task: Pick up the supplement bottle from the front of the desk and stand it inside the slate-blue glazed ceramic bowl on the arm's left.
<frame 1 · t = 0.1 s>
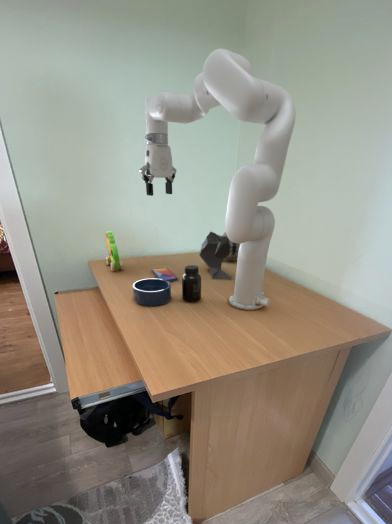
hand: (159, 194, 114), 31 cm above the table, tool pointing down, fingers open, 9 cm apart
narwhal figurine: (214, 273, 133), on the table
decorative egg: (229, 261, 150), on the table
bowl: (152, 299, 107), on the table
supplement bottle: (191, 299, 108), on the table
green toy figure: (114, 267, 138), on the table
smartphone: (164, 275, 129), on the table
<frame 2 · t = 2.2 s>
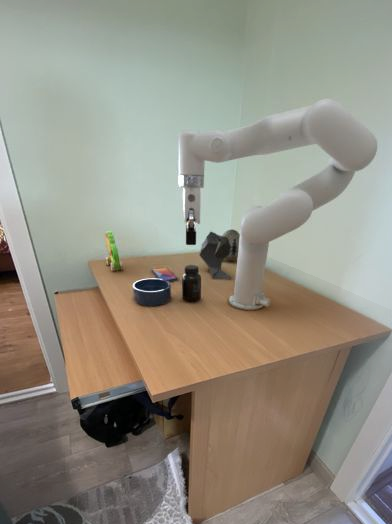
hand: (190, 241, 97), 20 cm above the table, tool pointing down, fingers open, 9 cm apart
nothing on the table moved.
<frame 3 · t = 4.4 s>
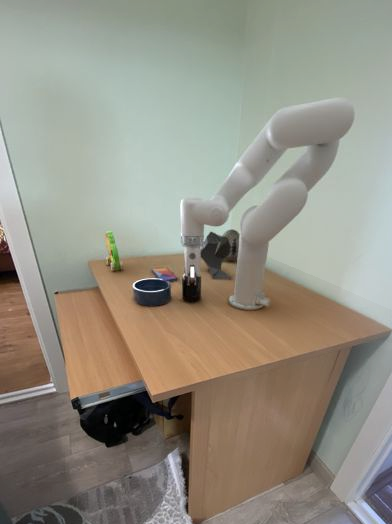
hand: (191, 291, 106), 3 cm above the table, tool pointing down, fingers closed on supplement bottle, 6 cm apart
supplement bottle: (191, 299, 108), on the table, touching gripper
everything else where it was.
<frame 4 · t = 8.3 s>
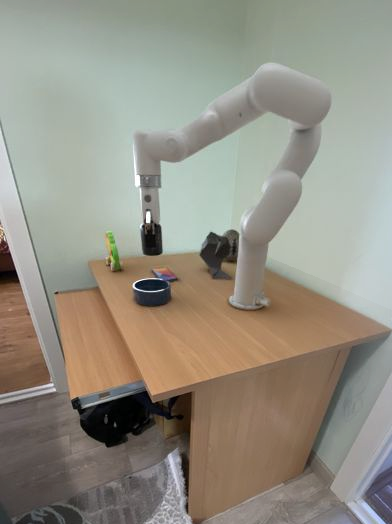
hand: (151, 243, 97), 20 cm above the table, tool pointing down, fingers closed on supplement bottle, 6 cm apart
supplement bottle: (152, 254, 98), point 16 cm above the table, touching gripper
everything else where it was.
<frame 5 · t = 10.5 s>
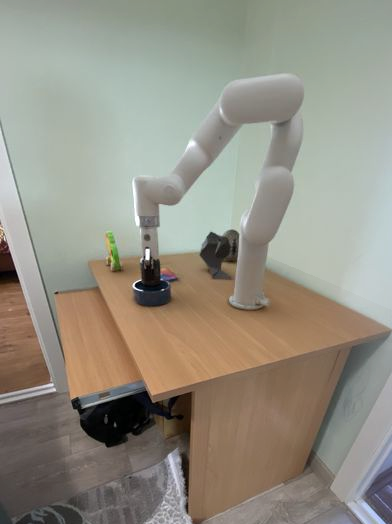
hand: (151, 275, 102), 9 cm above the table, tool pointing down, fingers closed on supplement bottle, 6 cm apart
supplement bottle: (151, 285, 104), point 5 cm above the table, touching gripper
everything else where it was.
when the fingers open (4 cm above the table, at t = 12.3 s): supplement bottle stays where it is, resting on bowl.
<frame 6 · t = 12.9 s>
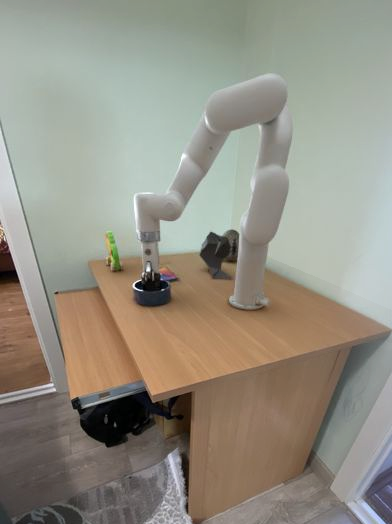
hand: (152, 286, 104), 5 cm above the table, tool pointing down, fingers open, 9 cm apart
supplement bottle: (152, 298, 107), resting on bowl
everything else where it was.
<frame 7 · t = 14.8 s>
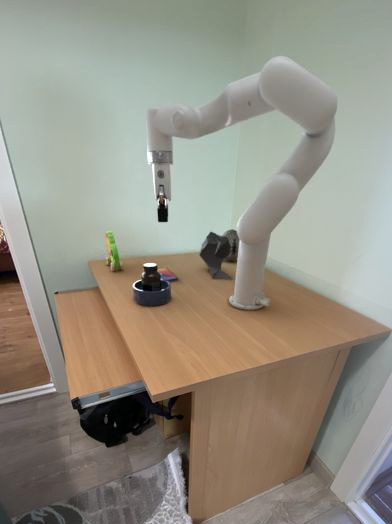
hand: (163, 219, 99), 26 cm above the table, tool pointing down, fingers open, 9 cm apart
nothing on the table moved.
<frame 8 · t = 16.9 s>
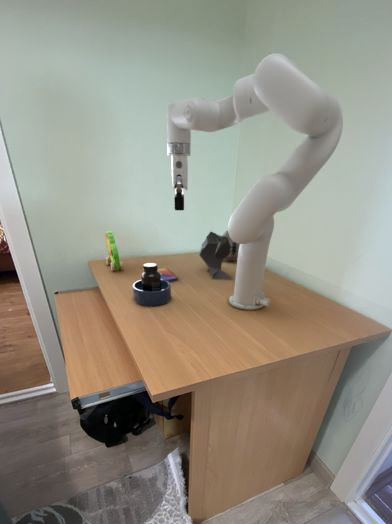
hand: (179, 208, 105), 28 cm above the table, tool pointing down, fingers open, 9 cm apart
nothing on the table moved.
at the end: supplement bottle 0.0 cm off-centre in the bowl, point 0.4 cm above the bowl's base; supplement bottle tilted 0°; the gripper is holding nothing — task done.
